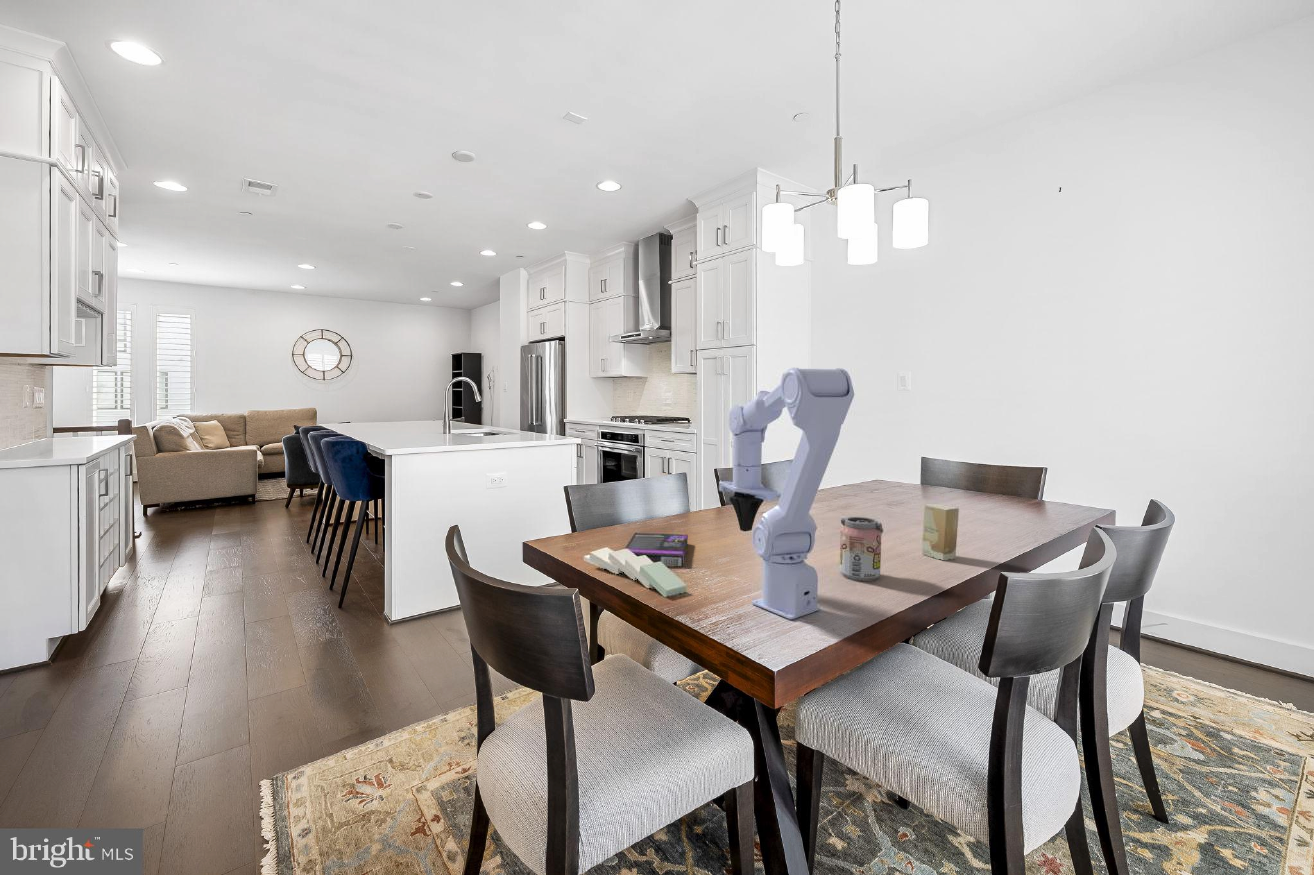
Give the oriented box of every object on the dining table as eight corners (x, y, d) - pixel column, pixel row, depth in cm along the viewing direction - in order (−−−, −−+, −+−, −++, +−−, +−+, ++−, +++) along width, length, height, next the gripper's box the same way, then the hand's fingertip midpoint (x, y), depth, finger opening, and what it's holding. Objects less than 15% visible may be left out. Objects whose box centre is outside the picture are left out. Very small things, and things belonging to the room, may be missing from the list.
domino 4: (669, 577, 113) (645, 555, 119) (649, 582, 110) (625, 559, 117) (668, 584, 113) (643, 561, 120) (648, 589, 110) (624, 565, 117)
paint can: (845, 566, 125) (846, 513, 124) (885, 572, 121) (887, 517, 120) (834, 577, 117) (835, 521, 117) (876, 584, 113) (878, 526, 112)
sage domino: (687, 585, 108) (660, 561, 115) (666, 590, 105) (640, 565, 112) (685, 592, 109) (659, 568, 115) (665, 597, 106) (639, 572, 112)
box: (682, 571, 125) (688, 545, 144) (683, 555, 124) (688, 532, 144) (621, 567, 126) (634, 543, 146) (621, 552, 126) (635, 530, 145)
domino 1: (623, 561, 125) (602, 552, 133) (603, 565, 122) (583, 555, 130) (622, 568, 125) (602, 559, 133) (603, 572, 123) (583, 562, 130)
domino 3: (653, 569, 118) (626, 548, 124) (635, 574, 115) (609, 552, 121) (651, 575, 119) (625, 554, 125) (634, 581, 115) (607, 559, 121)
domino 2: (634, 562, 122) (606, 547, 128) (617, 568, 118) (590, 552, 124) (633, 569, 123) (605, 553, 128) (617, 575, 119) (589, 558, 125)
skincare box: (920, 554, 135) (922, 504, 134) (933, 552, 136) (935, 502, 135) (944, 561, 129) (946, 509, 128) (957, 559, 131) (959, 507, 130)
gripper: (788, 467, 111) (786, 534, 112) (736, 459, 122) (735, 520, 123) (763, 470, 106) (761, 540, 108) (712, 462, 118) (711, 525, 119)
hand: (745, 530), depth 115 cm, fingers closed
